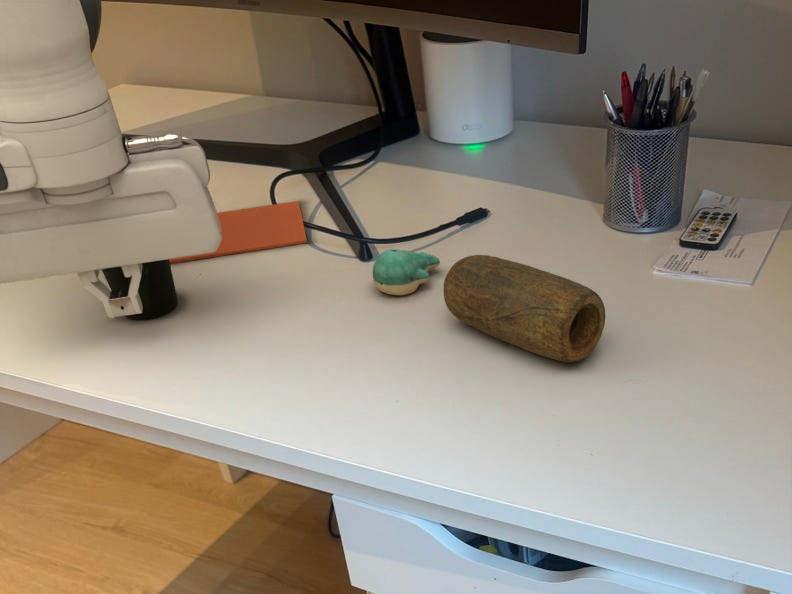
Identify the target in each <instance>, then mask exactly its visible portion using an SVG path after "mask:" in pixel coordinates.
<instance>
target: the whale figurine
mask: <svg viewBox="0 0 792 594" xmlns="http://www.w3.org/2000/svg"><path fill="white" fill-rule="evenodd" d="M440 265H441V260H440V259H439V258H438V257H437V256H435V255H434V254H431V253H427V252H424V251H419V252H415V251H412V250H406V249H399V248H389V249H386V250H384V251H382V252H381V253H380V254H379V255H378V256H377V257H376V259H375V260H374V263H373V266H372V278H373V283H374V286H375V287H376V289H377V290H379V291H380V292H382V293H385V294H388V295H392V296H405V295H410V294H412V293H413V292H415V291H416V290H417V289H418V287H419V286H420V285H421V284H426V283H428V282H429V281H430V278H431V276H430V273H429V272H428V271H432V270H435V269H436V268H438V267H439V266H440Z"/></svg>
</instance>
